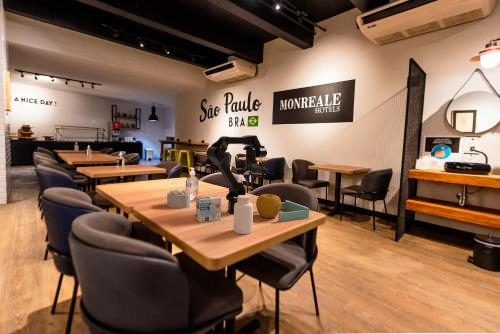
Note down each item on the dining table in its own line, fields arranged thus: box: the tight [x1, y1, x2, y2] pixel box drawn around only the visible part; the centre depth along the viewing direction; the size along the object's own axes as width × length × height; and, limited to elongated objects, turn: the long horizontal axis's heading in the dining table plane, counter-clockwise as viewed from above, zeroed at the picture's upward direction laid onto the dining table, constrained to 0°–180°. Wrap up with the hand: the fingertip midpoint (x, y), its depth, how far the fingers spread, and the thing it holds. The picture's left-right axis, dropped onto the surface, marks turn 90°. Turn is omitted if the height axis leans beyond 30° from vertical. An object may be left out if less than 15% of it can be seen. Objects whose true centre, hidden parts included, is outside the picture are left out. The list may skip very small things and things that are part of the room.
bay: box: [277, 200, 310, 223], centre depth 138 cm, size 18×20×5 cm
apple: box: [255, 193, 282, 219], centre depth 134 cm, size 13×13×11 cm
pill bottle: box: [233, 194, 254, 235], centre depth 110 cm, size 8×8×15 cm
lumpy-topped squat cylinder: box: [166, 189, 191, 209], centre depth 148 cm, size 10×13×9 cm
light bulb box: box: [195, 195, 222, 223], centre depth 125 cm, size 11×7×11 cm, turn 117°
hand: (250, 186), depth 146 cm, fingers closed
